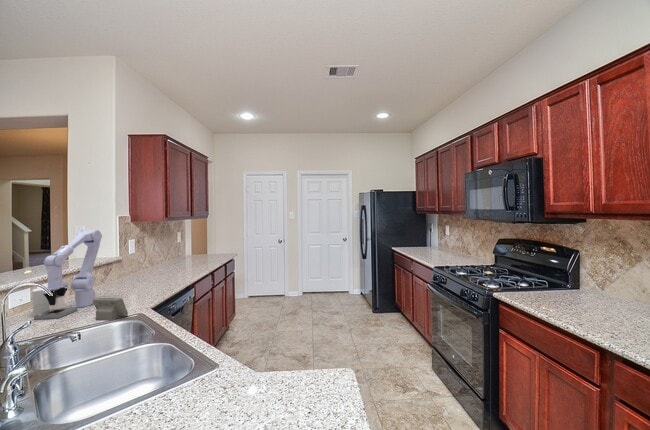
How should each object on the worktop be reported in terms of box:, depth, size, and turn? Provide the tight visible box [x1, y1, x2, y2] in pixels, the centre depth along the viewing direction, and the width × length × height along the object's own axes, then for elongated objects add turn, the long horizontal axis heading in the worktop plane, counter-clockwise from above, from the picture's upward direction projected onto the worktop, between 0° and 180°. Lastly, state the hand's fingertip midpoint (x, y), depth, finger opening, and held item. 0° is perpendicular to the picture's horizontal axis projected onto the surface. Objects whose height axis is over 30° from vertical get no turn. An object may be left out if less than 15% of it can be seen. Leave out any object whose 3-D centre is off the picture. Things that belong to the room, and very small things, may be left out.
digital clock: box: [93, 296, 129, 321], centre depth 149 cm, size 16×9×11 cm, turn 71°
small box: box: [31, 287, 51, 317], centre depth 159 cm, size 8×6×13 cm
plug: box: [49, 295, 65, 310], centre depth 155 cm, size 4×4×6 cm
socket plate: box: [33, 306, 78, 321], centre depth 155 cm, size 12×12×3 cm
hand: (56, 303), depth 155 cm, fingers closed on plug, 4 cm apart
